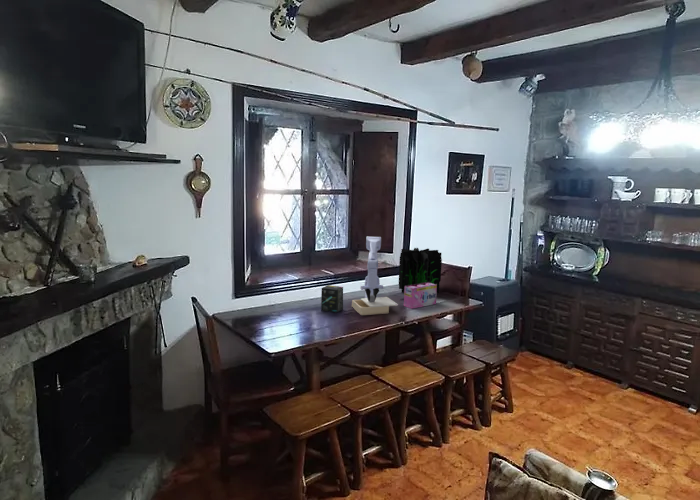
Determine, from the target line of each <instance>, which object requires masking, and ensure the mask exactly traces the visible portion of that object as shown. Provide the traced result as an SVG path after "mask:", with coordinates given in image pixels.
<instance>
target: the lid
mask: <svg viewBox="0 0 700 500" xmlns="http://www.w3.org/2000/svg"><path fill="white" fill-rule="evenodd" d="M360 300H362V301H363V302H364V303H366V304H367V305H368V306H369V307H384V306H389V307H397V306H398V305H399V304H398V303H397V302H395V301H394V300H392V299H391V298H389V296H381V297H379V296H377V297H376V299H375V296H374V295H370V301H368V298H365V297H364V298H360Z"/></svg>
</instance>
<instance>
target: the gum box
mask: <svg viewBox="0 0 700 500" xmlns="http://www.w3.org/2000/svg"><path fill="white" fill-rule="evenodd" d="M437 294H438V293H437V284H432V283H431V282H425V283H420V284H414V285H408V286H405V289H404V293H403V295H404V296H403V306H404V307H406V308H408V309H417V308H421V307H426V306H427V307H428V306H432V305H436V304H437Z"/></svg>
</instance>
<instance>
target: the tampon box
mask: <svg viewBox="0 0 700 500" xmlns="http://www.w3.org/2000/svg"><path fill="white" fill-rule="evenodd" d="M320 301H321V303H320V309H321V311H322V310H323V311H324V312H328V311H330V313H336V314H337V313H338V312H340V311H342V310H343V309H344V286H338V285H330V284H328V285H325V286H324V287H321V298H320ZM323 311H322V312H323Z"/></svg>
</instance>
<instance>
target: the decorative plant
mask: <svg viewBox="0 0 700 500" xmlns="http://www.w3.org/2000/svg"><path fill="white" fill-rule="evenodd" d="M400 251H401V252H400V255H399V264H398V265H399V267H398V289H399V290H401V293H403V294H404V289H405V286H408V285H414V284H420V283H425V282H431V283H432V284H437V293H436V294H439V293H440V282H441V280H442V279H441V278H442V265H443V264H442V263H443V259H442V252H439V249H430V248H425V249H419V247H414V248H413V249H407V248H401V249H400Z"/></svg>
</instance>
